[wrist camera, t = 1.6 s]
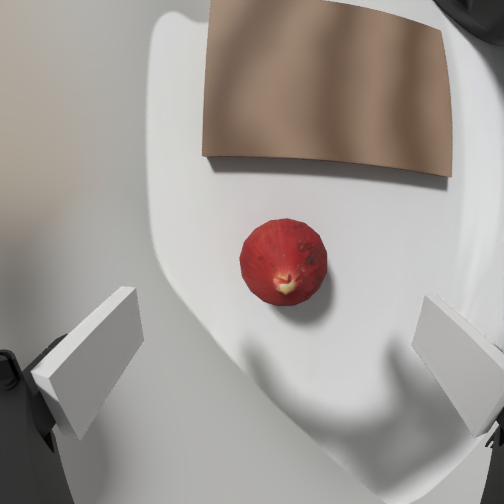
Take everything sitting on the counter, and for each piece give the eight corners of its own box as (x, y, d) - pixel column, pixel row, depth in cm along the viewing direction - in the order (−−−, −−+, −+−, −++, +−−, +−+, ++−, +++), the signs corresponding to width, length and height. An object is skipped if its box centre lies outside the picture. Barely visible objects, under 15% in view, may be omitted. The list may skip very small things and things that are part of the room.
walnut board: (433, 36, 17) (440, 30, 15) (442, 176, 20) (451, 177, 19) (214, 6, 17) (211, -2, 16) (206, 157, 21) (202, 156, 20)
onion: (298, 198, 22) (314, 213, 14) (329, 262, 23) (355, 306, 15) (231, 232, 23) (213, 264, 15) (265, 292, 24) (263, 347, 16)
